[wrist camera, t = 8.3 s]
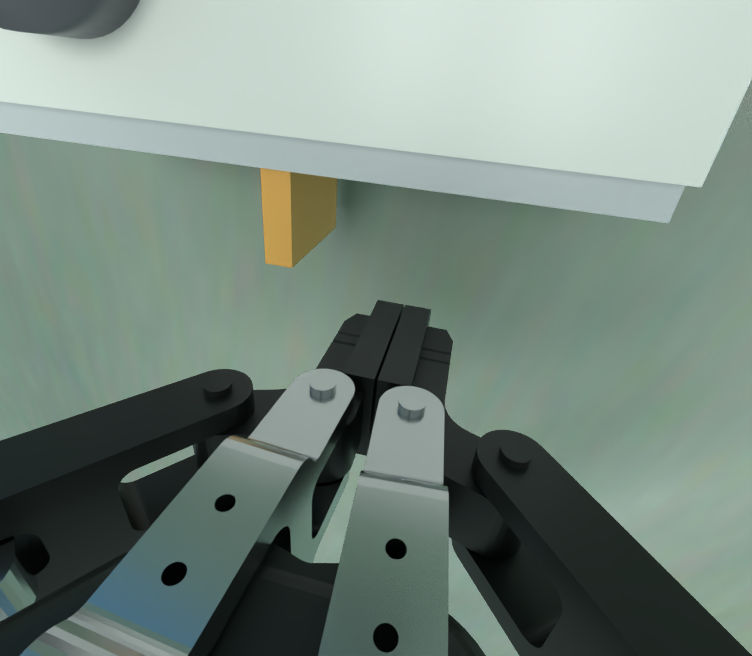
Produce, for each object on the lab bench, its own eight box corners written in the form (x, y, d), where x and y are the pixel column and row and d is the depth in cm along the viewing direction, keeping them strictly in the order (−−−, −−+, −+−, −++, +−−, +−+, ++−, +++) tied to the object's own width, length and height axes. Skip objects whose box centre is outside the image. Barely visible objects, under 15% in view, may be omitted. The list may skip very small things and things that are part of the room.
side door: (166, 104, 22) (48, 110, 16) (350, 125, 21) (294, 141, 15) (180, 200, 25) (83, 236, 19) (345, 226, 23) (296, 274, 17)
